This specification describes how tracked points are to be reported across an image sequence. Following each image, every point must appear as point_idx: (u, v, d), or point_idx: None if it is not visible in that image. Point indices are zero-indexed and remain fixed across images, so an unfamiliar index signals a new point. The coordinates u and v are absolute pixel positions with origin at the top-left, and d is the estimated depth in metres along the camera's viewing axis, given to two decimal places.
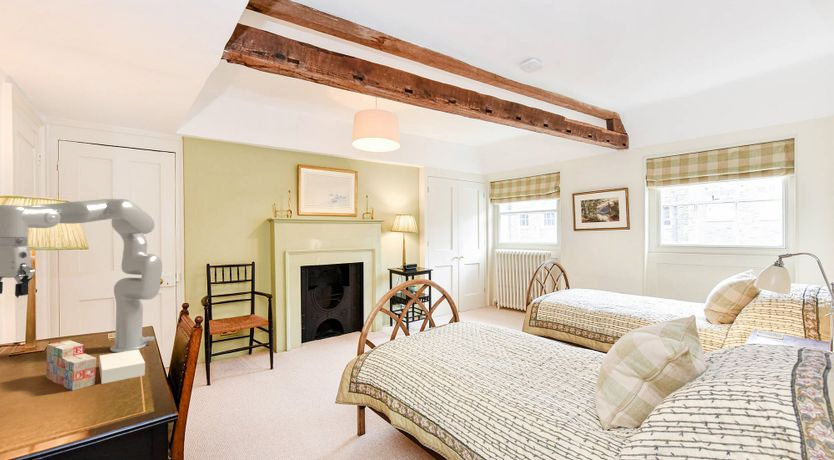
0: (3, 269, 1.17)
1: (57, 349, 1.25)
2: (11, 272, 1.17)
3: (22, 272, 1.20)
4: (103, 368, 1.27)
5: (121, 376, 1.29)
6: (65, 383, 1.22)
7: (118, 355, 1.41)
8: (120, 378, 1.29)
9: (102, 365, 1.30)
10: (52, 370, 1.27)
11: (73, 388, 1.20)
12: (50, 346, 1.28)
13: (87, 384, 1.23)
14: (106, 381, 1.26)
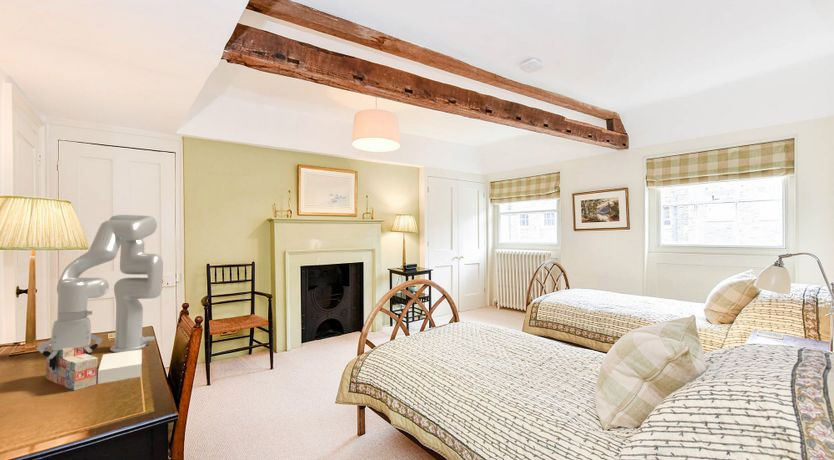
0: (75, 341, 1.26)
1: None
2: (85, 342, 1.28)
3: None
4: (100, 368, 1.27)
5: (117, 377, 1.28)
6: (66, 383, 1.22)
7: (121, 354, 1.41)
8: (116, 379, 1.28)
9: (101, 365, 1.30)
10: (52, 371, 1.26)
11: (75, 388, 1.20)
12: (50, 346, 1.28)
13: (89, 384, 1.23)
14: (102, 381, 1.26)
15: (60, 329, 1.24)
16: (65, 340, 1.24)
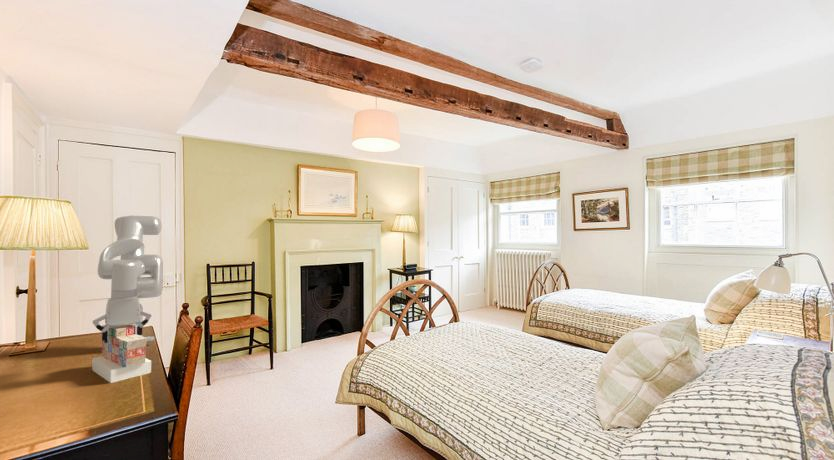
0: (127, 317, 1.36)
1: (112, 329, 1.35)
2: (136, 319, 1.38)
3: None
4: (110, 368, 1.28)
5: (129, 375, 1.30)
6: (119, 360, 1.31)
7: None
8: (128, 377, 1.30)
9: (106, 366, 1.30)
10: (107, 349, 1.37)
11: (127, 365, 1.29)
12: None
13: (139, 362, 1.32)
14: (115, 381, 1.27)
15: (114, 306, 1.33)
16: (118, 316, 1.34)
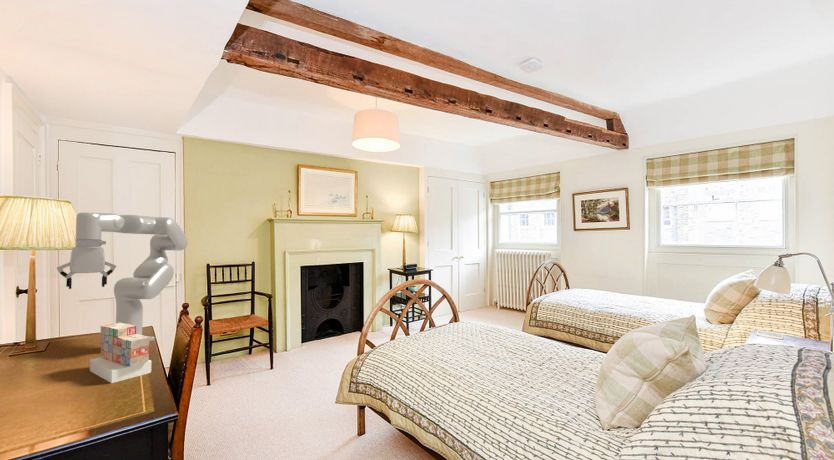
0: (91, 266, 1.42)
1: (112, 329, 1.35)
2: (100, 267, 1.44)
3: None
4: (111, 369, 1.27)
5: (129, 375, 1.30)
6: (122, 360, 1.31)
7: None
8: (129, 377, 1.30)
9: (106, 366, 1.29)
10: (106, 350, 1.36)
11: (131, 364, 1.29)
12: (104, 327, 1.37)
13: (142, 361, 1.33)
14: (116, 381, 1.27)
15: (78, 254, 1.39)
16: (82, 264, 1.40)
